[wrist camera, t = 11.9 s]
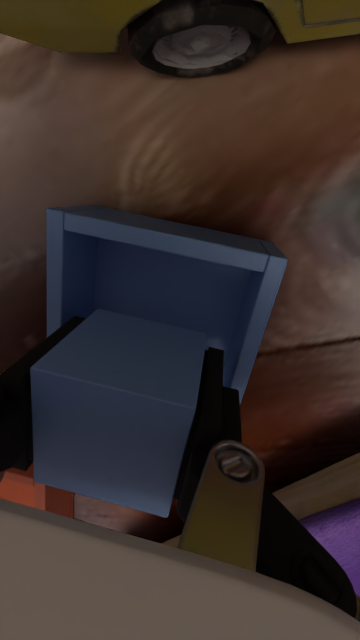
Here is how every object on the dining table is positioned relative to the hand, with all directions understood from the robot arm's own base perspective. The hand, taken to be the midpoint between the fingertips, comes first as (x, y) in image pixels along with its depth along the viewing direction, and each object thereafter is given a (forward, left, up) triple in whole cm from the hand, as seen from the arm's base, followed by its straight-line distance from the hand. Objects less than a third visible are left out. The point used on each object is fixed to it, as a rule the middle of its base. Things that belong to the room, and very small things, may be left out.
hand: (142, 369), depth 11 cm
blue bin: (0, 0, -4) cm, 4 cm away
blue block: (0, 0, 0) cm, 0 cm away
